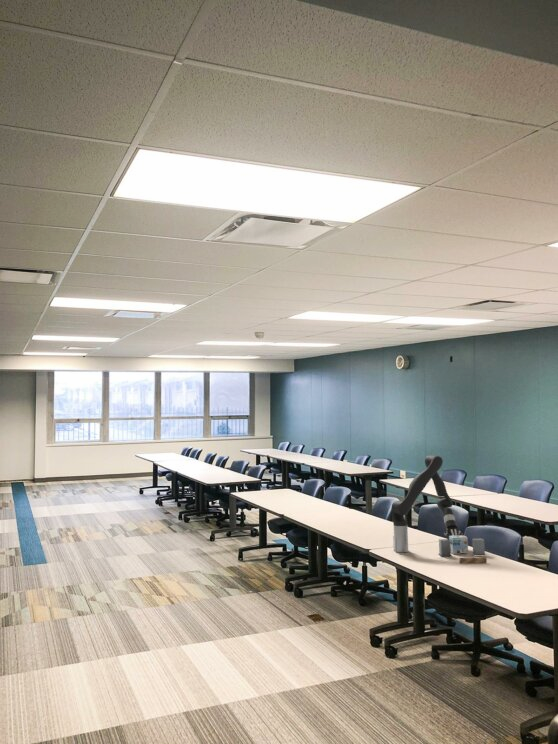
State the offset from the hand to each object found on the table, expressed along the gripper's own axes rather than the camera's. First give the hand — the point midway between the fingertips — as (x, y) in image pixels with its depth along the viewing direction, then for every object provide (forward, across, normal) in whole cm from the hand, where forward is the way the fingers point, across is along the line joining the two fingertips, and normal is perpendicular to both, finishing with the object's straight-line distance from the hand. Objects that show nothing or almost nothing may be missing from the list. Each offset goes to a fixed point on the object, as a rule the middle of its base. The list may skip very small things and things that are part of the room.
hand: (456, 544), depth 404 cm
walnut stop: (+26, 0, -20) cm, 33 cm away
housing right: (+11, +11, -5) cm, 16 cm away
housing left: (+11, -11, -5) cm, 16 cm away
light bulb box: (+6, 0, +1) cm, 6 cm away
